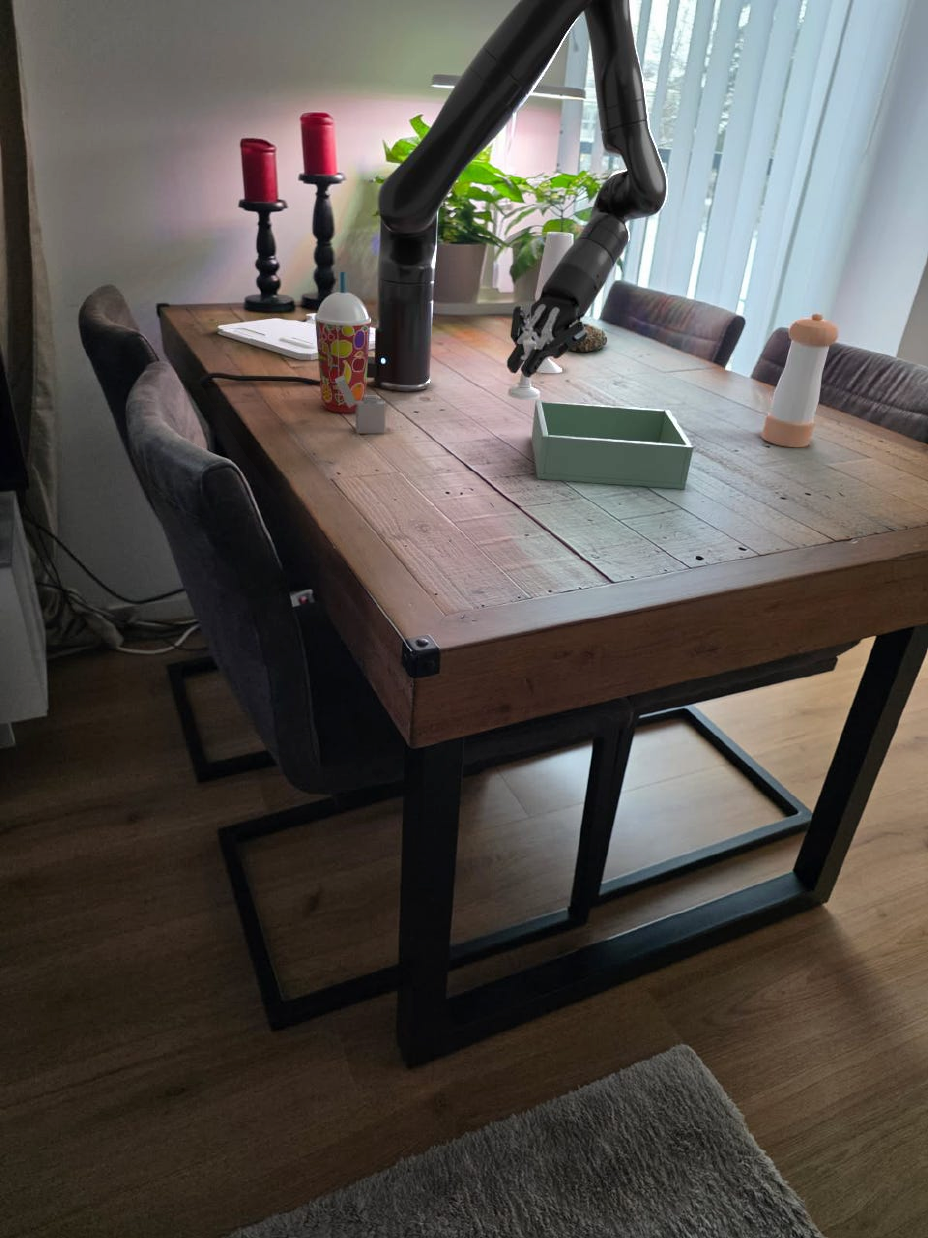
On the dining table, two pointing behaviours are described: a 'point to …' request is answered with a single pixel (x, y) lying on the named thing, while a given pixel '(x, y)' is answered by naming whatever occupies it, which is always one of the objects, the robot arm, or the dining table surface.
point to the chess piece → (524, 386)
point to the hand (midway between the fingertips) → (518, 371)
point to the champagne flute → (551, 257)
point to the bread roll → (590, 340)
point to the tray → (282, 336)
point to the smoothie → (342, 347)
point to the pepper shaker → (800, 383)
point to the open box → (609, 445)
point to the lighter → (365, 409)
